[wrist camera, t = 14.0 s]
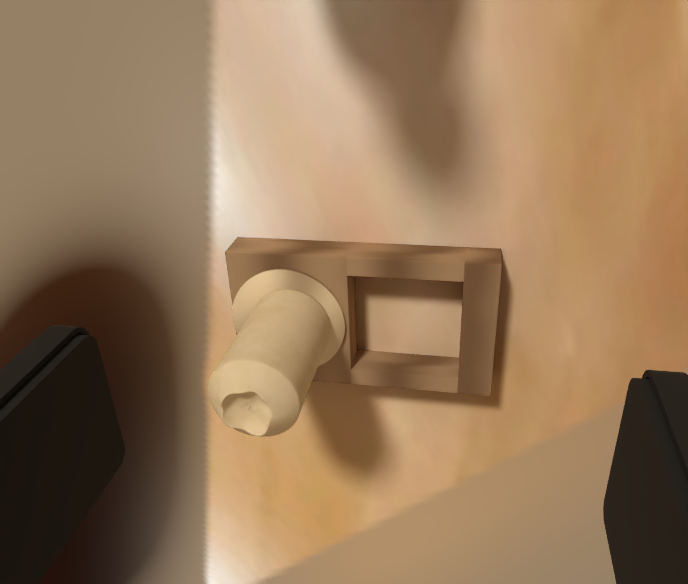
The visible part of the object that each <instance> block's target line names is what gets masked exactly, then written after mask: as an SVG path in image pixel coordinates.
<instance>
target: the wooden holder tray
mask: <svg viewBox="0 0 688 584" xmlns="http://www.w3.org/2000/svg"><path fill="white" fill-rule="evenodd" d="M225 256H226V263H227V270H228V277H229V284H230V291H231V298H232V305H233V309H232V317H233V323H234V327H235V329H236V334H238V333H239V331H240V329H241V328H242V326H243V325H244V323H245V321H246V320H247V318H248V317H249V315H250V313H251V312H252V310H253V309H254V307H255V306H256V304H257V303H258V302H259V300H260V299H261V298H263V297H264V296H265V295H266V294H268V293H270V292H272V291H275V290H279V289H294V290H298V291H301V292H304V293H306V294H308V295H310V296H311V297H313V298H314V299H316V300H317V301H318V302H319V303H320V304H321V305H322V307H323V308H324V310H325V311H326V313H327V315H328V318H329V322H330V334H329V338H328V341H327V344H326V347H325V350H324V352H323V355H322V357H321V360H320V362H319V365H318V368H317V370H316V373H315V375H314V378H313V380H312V381H323V382H335V383H346V384H358V385H369V386H381V387H393V388H404V389H416V390H427V391H439V392H451V393H462V394H474V395H485V396H490V394H491V383H492V371H493V360H494V349H495V337H496V326H497V314H498V303H499V291H500V280H501V269H502V261H501V249H492V248H470V247H447V246H424V245H401V244H379V243H356V242H333V241H311V240H288V239H265V238H243V237H237V239H236V240H235V241H234V242H233V243H232V245H231V246H230V247H229V248H228V249H227V251H226V252H225ZM354 276H365V277H384V278H402V279H421V280H439V281H458V282H464V283H463V301H462V319H461V336H460V354H459V358H453V357H440V356H427V355H414V354H401V353H388V352H374V351H361V350H357V335H356V307H355V279H354Z"/></svg>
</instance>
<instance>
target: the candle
mask: <svg viewBox="0 0 688 584" xmlns="http://www.w3.org/2000/svg"><path fill="white" fill-rule="evenodd" d="M329 334H330V322H329V318H328V315H327V313H326V311H325V310H324V308H323V307H322V305H321V304H320V303H319V302H318V301H317V300H316V299H314V298H313V297H311V296H310V295H308V294H306V293H304V292H301V291H298V290H294V289H279V290H275V291H272V292H270V293H268V294H266V295H265V296H264V297H263V298H261V299H260V300H259V302H258V303H257V304H256V306H255V307H254V309H253V310H252V312H251V313H250V315H249V317H248V318H247V320H246V321H245V323H244V325H243V326H242V328H241V329H240V331H239V333H238V334H237V336H236V337H235V339H234V341H233V342H232V344H231V345H230V347H229V349H228V350H227V352H226V353H225V355H224V357H223V358H222V360H221V361H220V363H219V365H218V366H217V368H216V369H215V371H214V373H213V374H212V376H211V378H210V381H209V385H208V395H209V399H210V402H211V404H212V406H213V408H214V410H215V411H216V413H217V414H218V415H219V417H220V418H221V419H222V421H223V423H224V424H225V425H226V426H227V427H230V428H233V429H235V430H237V431H239V432H242V433H245V434H248V435H253V436H274V435H278V434H281V433H283V432H285V431H287V430H288V429H289V428H291V427H292V426H293V425H294V423H295V422H296V420H297V419H298V416H299V414H300V411H301V409H302V406H303V404H304V401H305V398H306V396H307V393H308V391H309V388H310V386H311V383H312V380H313V378H314V375H315V373H316V370H317V368H318V365H319V362H320V360H321V357H322V355H323V352H324V350H325V347H326V344H327V341H328V338H329Z"/></svg>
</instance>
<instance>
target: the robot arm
mask: <svg viewBox="0 0 688 584" xmlns="http://www.w3.org/2000/svg"><path fill="white" fill-rule="evenodd" d="M124 453H125V447H124V442H123V438H122V434H121V431H120V427H119V424H118V419H117V416H116V412H115V408H114V405H113V401H112V397H111V393H110V390H109V386H108V382H107V378H106V375H105V371H104V367H103V363H102V359H101V355H100V352H99V348H98V344H97V341H96V339H95V338H94V337H92V336H90V335H89V333H88V332H87V330H86V329H84V328H82V327H71V326H59V325H55V326H50V327H49V328H47V329H46V330H45V331H44V332H43V333H41V334H40V335H39V336H38V337H37V338H36V339H35V340H33V342H31V343H30V344H29V345H28V346H27V347H25V348H24V349H23V350H22V351H21V352H20V353H19V354H18V355H16V356H15V357H14V358H13V359H12V360H11V361H10V362H9V363H7V364H6V365H5V366H4V367H3V368H2V369H1V370H0V584H38V583H39V582H40V581H41V579H42V578H43V576H44V575H45V574H46V572H47V571H48V569H49V568H50V566H51V565H52V563H53V562H54V561H55V559H56V558H57V556H58V555H59V553H60V552H61V550H62V549H63V547H64V546H65V544H66V543H67V542H68V540H69V539H70V537H71V536H72V535H73V533H74V532H75V530H76V529H77V527H78V526H79V525H80V523H81V522H82V520H83V519H84V517H85V516H86V514H87V513H88V511H89V510H90V509H91V507H92V506H93V504H94V503H95V502H96V500H97V498H98V497H99V496H100V494H101V493H102V491H103V490H104V489H105V487H106V486H107V484H108V483H109V481H110V480H111V478H112V477H113V476H114V474H115V473H116V471H117V470H118V468H119V467H120V465H121V463H122V461H123V458H124ZM603 510H604V524H605V529H606V534H607V539H608V544H609V548H610V554H611V559H612V564H613V569H614V574H615V579H616V584H688V375H687V374H686V373H682V372H669V371H656V370H646V371H645V372H644V374H643V377H642V379H640V378H632V379H631V380H630V383H629V386H628V391H627V396H626V400H625V405H624V410H623V414H622V419H621V424H620V428H619V433H618V438H617V442H616V447H615V452H614V456H613V461H612V466H611V471H610V475H609V480H608V484H607V489H606V494H605V499H604V508H603Z"/></svg>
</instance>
